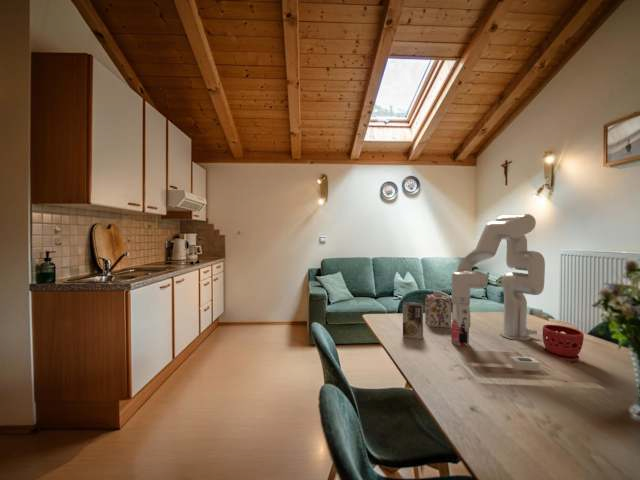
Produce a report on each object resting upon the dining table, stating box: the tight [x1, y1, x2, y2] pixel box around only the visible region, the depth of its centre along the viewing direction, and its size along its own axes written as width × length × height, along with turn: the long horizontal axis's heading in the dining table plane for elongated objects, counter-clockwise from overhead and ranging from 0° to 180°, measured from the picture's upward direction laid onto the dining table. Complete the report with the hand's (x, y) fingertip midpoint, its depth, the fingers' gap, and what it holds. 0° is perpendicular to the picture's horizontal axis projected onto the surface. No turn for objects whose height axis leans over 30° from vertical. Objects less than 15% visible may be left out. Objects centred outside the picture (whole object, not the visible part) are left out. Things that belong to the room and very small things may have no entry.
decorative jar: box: [424, 291, 452, 329], centre depth 172 cm, size 12×12×18 cm
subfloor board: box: [457, 349, 551, 376], centre depth 119 cm, size 24×21×2 cm
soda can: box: [450, 319, 470, 347], centre depth 138 cm, size 7×7×12 cm
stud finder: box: [509, 356, 541, 371], centre depth 114 cm, size 8×5×3 cm, turn 84°
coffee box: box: [402, 301, 424, 340], centre depth 152 cm, size 9×6×16 cm
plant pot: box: [542, 324, 585, 363], centre depth 126 cm, size 13×13×12 cm
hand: (459, 339), depth 138 cm, fingers closed on soda can, 7 cm apart
